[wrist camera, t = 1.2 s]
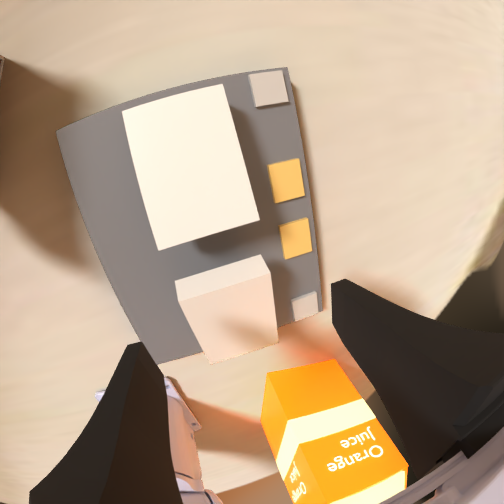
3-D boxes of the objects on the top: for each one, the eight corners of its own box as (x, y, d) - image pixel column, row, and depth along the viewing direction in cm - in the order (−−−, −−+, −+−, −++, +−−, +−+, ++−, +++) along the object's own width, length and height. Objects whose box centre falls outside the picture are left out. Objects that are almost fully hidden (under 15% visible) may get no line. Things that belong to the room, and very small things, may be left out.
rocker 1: (252, 217, 16) (259, 219, 14) (161, 245, 15) (158, 250, 13) (219, 94, 14) (222, 83, 12) (128, 119, 13) (121, 111, 12)
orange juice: (335, 358, 29) (440, 509, 11) (319, 407, 32) (392, 535, 15) (264, 372, 27) (354, 560, 9) (258, 421, 30) (320, 568, 13)
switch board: (314, 300, 24) (329, 319, 22) (154, 351, 22) (155, 375, 20) (278, 71, 16) (295, 63, 14) (64, 130, 14) (47, 131, 12)
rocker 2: (271, 325, 21) (278, 342, 20) (205, 346, 20) (210, 364, 19) (260, 254, 17) (270, 272, 15) (174, 280, 16) (178, 301, 15)
